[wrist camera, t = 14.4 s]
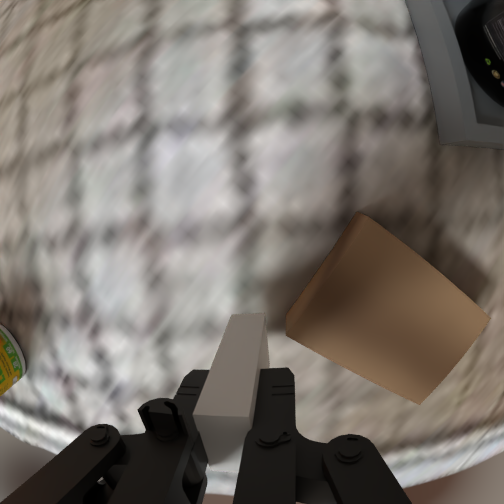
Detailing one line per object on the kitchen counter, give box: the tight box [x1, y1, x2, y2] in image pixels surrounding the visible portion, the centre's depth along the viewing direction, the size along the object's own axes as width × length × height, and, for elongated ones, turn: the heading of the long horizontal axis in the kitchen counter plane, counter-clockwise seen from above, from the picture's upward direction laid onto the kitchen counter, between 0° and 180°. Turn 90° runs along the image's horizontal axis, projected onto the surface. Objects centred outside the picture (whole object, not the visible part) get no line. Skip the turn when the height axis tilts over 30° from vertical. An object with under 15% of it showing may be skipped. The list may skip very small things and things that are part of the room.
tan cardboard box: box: [286, 212, 491, 405], centre depth 13 cm, size 6×9×2 cm, turn 59°
